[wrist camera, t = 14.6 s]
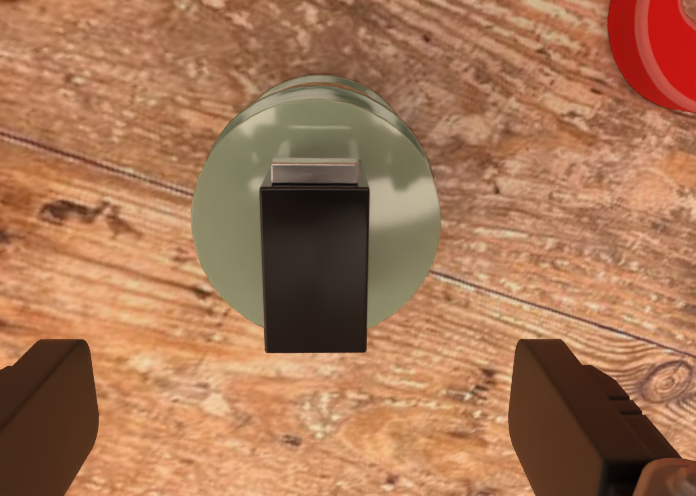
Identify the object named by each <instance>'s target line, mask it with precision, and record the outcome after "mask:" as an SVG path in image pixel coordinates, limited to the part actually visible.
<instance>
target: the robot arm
mask: <svg viewBox="0 0 696 496" xmlns="http://www.w3.org/2000/svg"><path fill="white" fill-rule="evenodd" d="M508 423H509V433H510V438H511V442H512V445H513V447H514V450H515V452H516V454H517V456H518V458H519V461H520V463H521V465H522V467H523V469H524V471H525V474H526V476H527V478H528V480H529V482H530V485H531V487H532V489H533V491H534V493H535V496H696V461H692V460H687V459H682V457H681V456H680V455H679V454H678V453H677V452H676V450H675V449H674V448H673V447H672V446H671V445H670V443H669V442H668V441H667V440H666V439H665V438H664V436H663V435H662V434H661V433H660V432H659V431H658V429H657V428H656V427H655V426H654V425H653V424H652V422H651V421H650V420H649V419H648V418H647V417H646V415H642V411H641V410H640V408H639V407H638V406H637V405H636V404H635V403H634V401H633V400H630V397H629V396H628V394H627V393H626V392H625V391H624V390H623V389H622V387H621V386H620V385H619V384H618V383H617V382H616V380H614V379H613V378H611V377H610V376H608V375H606V374H605V373H603V372H602V371H600V370H598V369H597V368H595V367H593V366H592V365H582V364H581V363H580V362H579V361H578V359H577V358H576V357H575V356H574V354H573V353H572V352H571V350H570V349H569V348H568V347H567V345H566V344H565V343H564V342H563V341H562V340H561V339H521V340H519V341H518V343H517V346H516V350H515V357H514V366H513V375H512V384H511V393H510V402H509V412H508ZM98 425H99V412H98V405H97V397H96V390H95V383H94V376H93V368H92V361H91V354H90V349H89V346H88V344H87V342H86V341H85V340H83V339H41V340H39V341H37V342H36V343H35V344H34V345H33V346H32V347H31V348H30V349H29V350H28V351H27V352H26V353H25V354H24V355H23V356H22V357H21V358H20V359H19V360H18V361H17V362H16V363H15V364H14V365H13V366H7V367H5V368H3V369H1V370H0V496H64V495H65V493H66V492H67V490H68V488H69V487H70V485H71V483H72V482H73V480H74V478H75V477H76V475H77V473H78V472H79V470H80V468H81V467H82V465H83V463H84V461H85V460H86V458H87V456H88V455H89V453H90V451H91V450H92V448H93V446H94V443H95V440H96V437H97V432H98Z"/></svg>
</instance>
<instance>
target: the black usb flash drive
mask: <svg viewBox="0 0 696 496" xmlns="http://www.w3.org/2000/svg"><path fill="white" fill-rule="evenodd" d="M259 204H260V231H261V258H262V284H263V311H264V338H265V351H266V353H364V352H366V350H367V309H368V263H369V217H370V188H369V184H368V181H367V177H366V174H365V170H364V167H363V163H362V160H360V159H340V158H274V159H273V160H272V162H271V164H270V169H269V170H268V172H267V174H266V176H265V178H264V180H263V182H262V184H261V186H260V188H259Z"/></svg>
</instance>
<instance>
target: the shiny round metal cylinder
mask: <svg viewBox="0 0 696 496" xmlns="http://www.w3.org/2000/svg"><path fill="white" fill-rule="evenodd" d="M274 158H340V159H360V160H362V163H363V167H364V170H365V174H366V177H367V181H368V184H369V188H370V217H369V263H368V309H367V329H369V328H371V327H373V326H375V325H377V324H379V323H381V322H382V321H384V320H386V319H387V318H389V317H390V316H392V315H393V314H394V313H395V312H397V311H398V310H399V309H400V308H402V307H403V306H404V305H405V304H406V303H407V302H408V301H409V300H410V299H411V298H412V296H413V295H414V294H415V293H416V291H417V290H418V289H419V287H420V286H421V285H422V283H423V281H424V280H425V278H426V276H427V274H428V273H429V271H430V268H431V266H432V263H433V261H434V259H435V256H436V252H437V248H438V244H439V239H440V231H441V209H440V202H439V195H438V192H437V188H436V185H435V181H434V176H433V173H432V169H431V166H430V162H429V160H428V158H427V156H426V153H425V151H424V149H423V147H422V145H421V144H420V142H419V141H418V139H417V137H416V136H415V134H414V133H413V132H412V131H411V129H410V128H409V127H408V126H407V125H406V123H405V122H404V121H403V120H402V119H401V118H399V117H398V115H397V114H396V112H395V111H394V110H393V109H392V108H391V106H390V105H389V104H388V103H387V102H386V101H385V100H384V99H383V98H382V97H381V96H379V95H378V94H377V93H375V92H374V91H373V90H371V89H370V88H368V87H366V86H364V85H362V84H361V83H359V82H356V81H354V80H351V79H348V78H345V77H340V76H336V75H327V74H313V75H305V76H300V77H295V78H292V79H290V80H287V81H284V82H282V83H280V84H278V85H276V86H274V87H272V88H271V89H269V90H268V91H267V92H265V93H264V94H262V95H261V96H260V97H259V98H258V99H257V100H256V101H255V102H253V103H252V104H251V105H250V106H248V107H247V108H245V109H244V110H242V111H241V112H240V113H239V114H238V115H237V116H236V117H235V118H234V119H232V120H231V121H230V122H229V124H228V125H227V126H226V127H225V129H224V130H223V131H222V132H221V133H220V135H219V136H218V138H217V140H216V141H215V143H214V145H213V146H212V148H211V150H210V153H209V155H208V157H207V160H206V162H205V164H204V166H203V168H202V171H201V173H200V175H199V178H198V180H197V184H196V187H195V191H194V195H193V202H192V209H191V227H192V234H193V241H194V245H195V249H196V252H197V256H198V259H199V261H200V263H201V266H202V268H203V270H204V272H205V274H206V276H207V277H208V279H209V281H210V282H211V284H212V285H213V287H214V288H215V289H216V291H217V292H218V293H219V294H220V296H221V297H222V298H223V299H224V300H225V301H226V302H227V303H228V304H229V305H230V306H231V307H232V308H233V309H235V310H236V311H237V312H239V313H240V314H241V315H242V316H244V317H245V318H247V319H248V320H250V321H252V322H254V323H255V324H257V325H259V326H261V327H263V328H264V311H263V284H262V258H261V231H260V204H259V188H260V186H261V184H262V182H263V180H264V178H265V176H266V174H267V172H268V170H269V169H270V164H271V162H272V160H273V159H274Z"/></svg>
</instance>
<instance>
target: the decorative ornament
mask: <svg viewBox="0 0 696 496" xmlns="http://www.w3.org/2000/svg"><path fill="white" fill-rule="evenodd" d="M608 34H609V41H610V46H611V50H612V53H613V56H614V59H615V61H616V63H617V65H618V67H619V69H620V71H621V73H622V74H623V76H624V78H625V79H626V80H627V82H628V83H629V84H630V86H631V87H632V88H633V89H634V90H635V91H637V92H638V93H639V94H640V95H642V96H643V97H645V98H646V99H648V100H649V101H651V102H653V103H655V104H657V105H660V106H663V107H666V108H670V109H675V110H681V111H687V112H693V113H696V22H694V21H693V20H691V19H690V18H689V16H688V15H687V14H686V12H685V10H684V7H683V3H682V0H611V2H610V7H609V15H608Z"/></svg>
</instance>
